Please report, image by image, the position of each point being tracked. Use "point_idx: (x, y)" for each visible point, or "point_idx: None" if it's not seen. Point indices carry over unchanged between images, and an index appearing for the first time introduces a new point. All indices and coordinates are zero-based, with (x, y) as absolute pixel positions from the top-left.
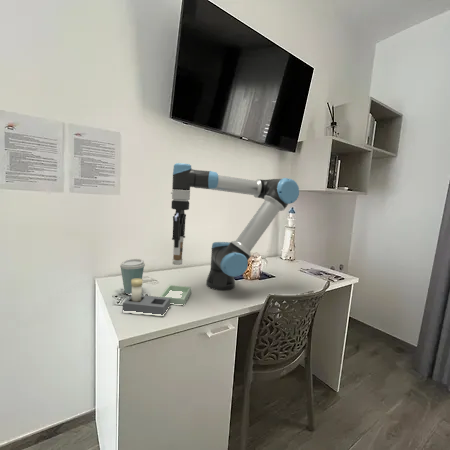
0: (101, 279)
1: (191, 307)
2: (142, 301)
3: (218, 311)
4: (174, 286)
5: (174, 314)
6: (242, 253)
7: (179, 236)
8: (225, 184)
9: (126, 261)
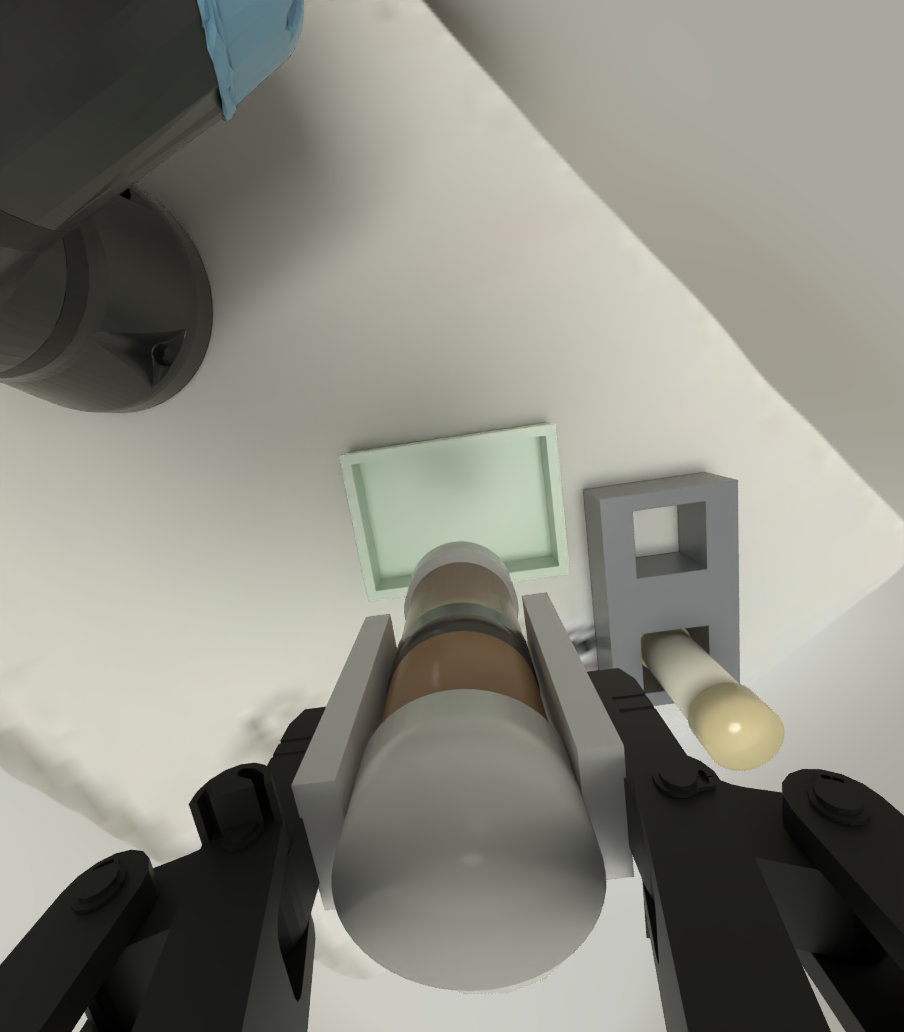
0: None
1: (546, 373)
2: (695, 618)
3: (545, 187)
4: (371, 564)
5: (658, 430)
6: None
7: (749, 847)
8: None
9: None
